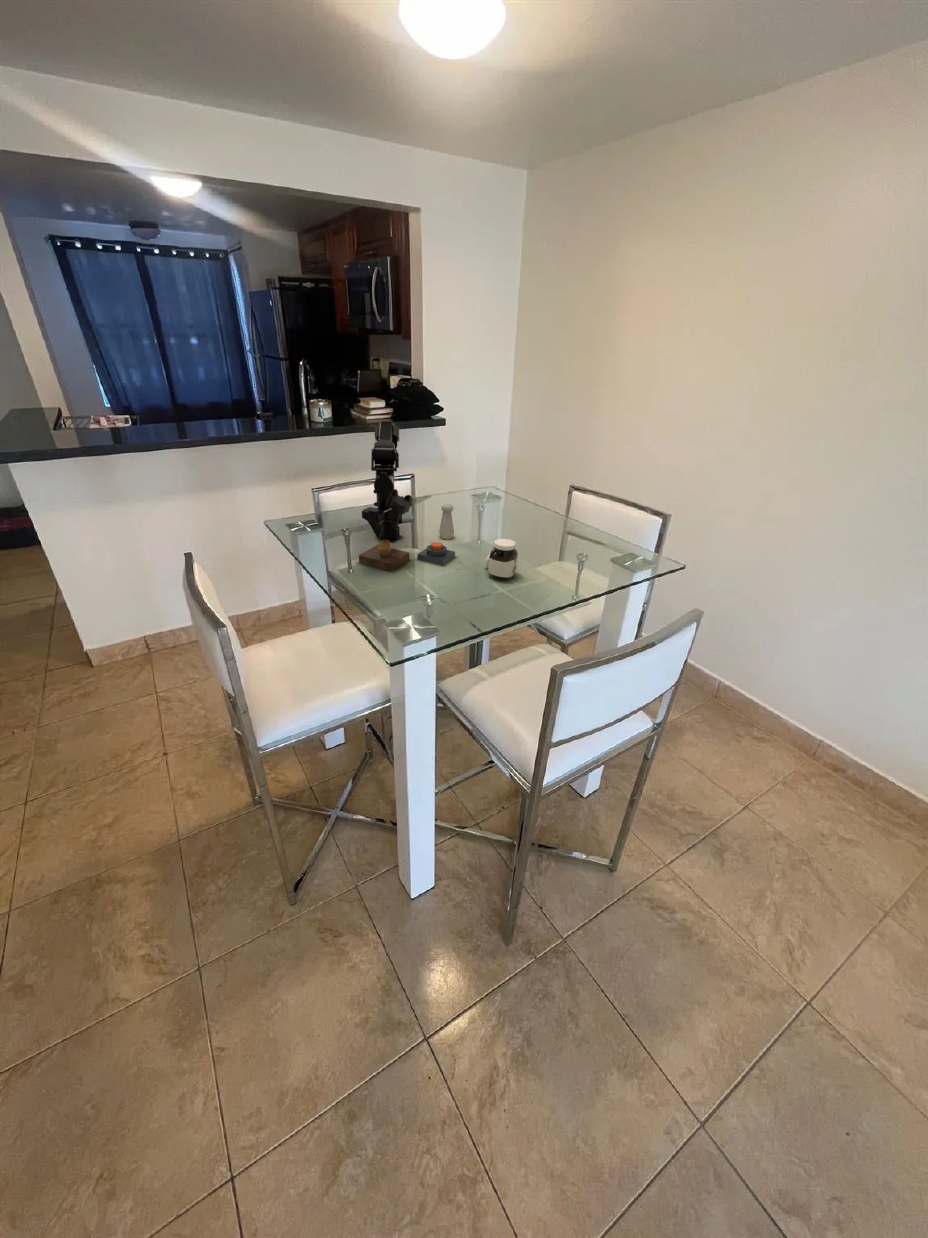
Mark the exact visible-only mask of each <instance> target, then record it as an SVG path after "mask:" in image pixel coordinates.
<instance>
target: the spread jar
mask: <svg viewBox="0 0 928 1238" xmlns="http://www.w3.org/2000/svg"><path fill="white" fill-rule="evenodd" d="M516 544H517V543H516V542H515V540H512V539H509V538H498V539H495V540H494V541H493V547H492V549H491V551H490V552H489V553H488V554H487V555H486V557H485V559H484V564H485V565H486V567H487V572H488V575H489V576H490V577H491V578H493V579H495V580H498V581H508V580H511V579H512V578H513V577H514V576H515V574H516V571H517V567H518V558H519V553H518V550H517V548H516Z"/></svg>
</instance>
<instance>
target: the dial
mask: <svg viewBox="0 0 928 1238" xmlns="http://www.w3.org/2000/svg"><path fill="white" fill-rule="evenodd" d="M377 545H378V554H379V555H381V556H387V555H390V548H391V541H388V540H382V539H381V540H379V541H378V542H377Z"/></svg>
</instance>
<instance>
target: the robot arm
mask: <svg viewBox="0 0 928 1238" xmlns="http://www.w3.org/2000/svg"><path fill="white" fill-rule="evenodd" d="M377 423H378V424H376V425H374V440H375V442H374V443H373V448H371V456H370V457H371V460H370V461H371V467H370V469H371V471H372V472H375V478H374V482H373V494H375V495H376V501H374V502H373V506H368V507H366V508H364V509H362V511H361V519H363V520H365V521H367V523H368V524H369V526H370V528H371V529H372V531H373V533H374V535H375V537H376V538H377V539H378V540H381V541H382V540H388V541H389V542H390V543H392V542H395V541H397V540H398V539H400V538H402V535H400V533H401V532H400V531H401V529H400V526H399V525H401V524H403V515H405V514H407V513H409V511H410V509H411V507H413V496H412V495H410V494H406V495H399V491H398V489H396V488H395V472H397V471H398V469H399V468H400V453H399V452H398V449H397V448H398V445H399V444H398V443H399V442H400V427H399V426H397V425H396V424H394V423H395V422H394V421H392V420H379V421H378V422H377Z"/></svg>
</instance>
